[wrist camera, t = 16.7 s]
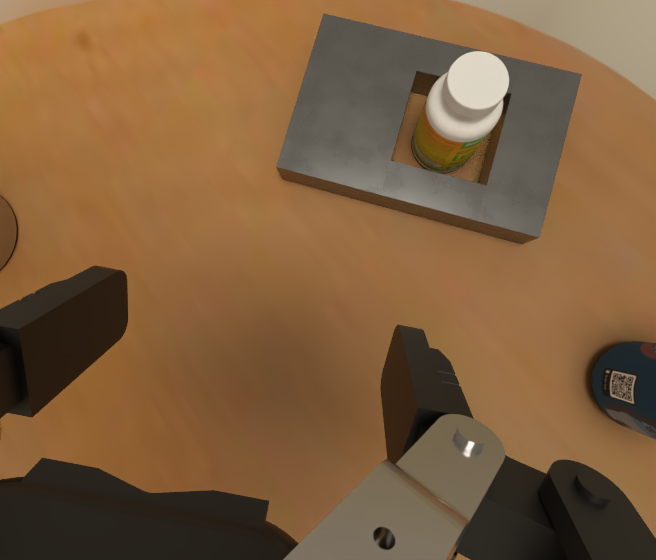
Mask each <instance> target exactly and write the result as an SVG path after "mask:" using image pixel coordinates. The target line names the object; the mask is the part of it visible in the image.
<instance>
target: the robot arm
mask: <svg viewBox="0 0 656 560" xmlns="http://www.w3.org/2000/svg"><path fill="white" fill-rule="evenodd" d="M16 233H17V226H16V221H15V217H14V214H13V212H12V209H11V208H10V206H9V205H8V203H7V202H6V201H5V200H4V199H3V198H2V197H1V196H0V269H1V268H2V267H3V266H4V264H5V263H6V262H7V260H8V259H9V257H10V255H11V253H12V251H13V249H14V245H15V241H16ZM127 323H128V294H127V276H126V274H125V272H123V271H121V270H116V269H111V268H106V267H101V266H92V267H90V268H88V269H87V270H85V271H83V272H81V273H79V274H77V275H75V276H73V277H71V278H69V279H67V280H63V281H59V282H55V283H51V284H49V285H47V286H45V287H43V288H41V289H39V290H37V291H36V292H35V294H33V293H32V294H30V295H28V296H26V297H24V298H22V300H21V301H20V300H18V301H16V302H14V303H12V304H10V305H8V306H6V307H4V308H2V309H0V418H1V417H3V416H4V415H5V414H6V413H12V414H17V415H22V416H27V417H33V416H34V415H35V414H36V413H38V412H39V411H40V410H41V409H42V408H43V407H44V406H45V405H47V404H48V403H49V402H50V401H51V400H52V399H53V398H54V397H56V396H57V395H58V394H59V393H60V392H61V391H62V390H63V389H65V388H66V387H67V386H68V385H69V384H70V383H71V382H72V381H74V380H75V379H76V378H77V377H78V376H79V375H80V374H81V373H83V372H84V371H85V370H86V369H87V368H88V367H89V366H90V365H92V364H93V363H94V362H95V361H96V360H97V359H98V358H99V357H101V356H102V355H103V354H104V353H105V352H106V351H107V350H108V349H110V348H111V347H112V346H113V345H114V344H115V343H116V342H117V341H119V340H120V339H121V337H122V336H123V334H124V332H125V330H126V327H127ZM381 398H382V408H383V418H384V428H385V438H386V448H387V458H388V459H386V460H384V461H382V462H381V463H380V464H379V465H378V466H377V467H376V468H375V469H374V470H373V471H372V472H371V473H370V474H369V475H368V476H367V477H366V478H365V479H364V480H363V481H362V482H361V483H360V484H359V485H358V486H357V487H356V488H355V489H354V490H353V491H352V492H351V493H350V494H349V495H348V496H347V497H346V498H345V499H344V500H343V501H342V502H341V503H340V504H339V505H338V506H337V507H335V508H334V509H333V510H332V511H331V512H330V513H329V514H328V515H327V516H326V517H325V518H324V519H323V520H322V521H321V522H320V523H319V524H318V525H317V526H316V527H315V528H314V529H313V530H312V531H311V532H310V533H309V534H308V535H307V536H306V537H305V538H304V539H303V540H302V541H301V542H300V543H297V542H296V541H295V540H294V539H293V538H292V537H291V536H289V535H288V534H287V533H286V532H284V531H283V530H281V529H280V528H278V527H277V526H275V525H273V524H272V523H270V522H268V521H266V516H267V511H268V505H269V501H267V500H261V499H256V498H251V497H246V496H240V495H235V494H230V493H225V492H219V491H214V490H211V491H190V492H169V493H148V492H145V491H142V490H140V489H138V488H136V487H134V486H132V485H130V484H128V483H126V482H124V481H122V480H120V479H118V478H116V477H114V476H112V475H110V474H108V473H106V472H104V471H102V470H100V469H99V468H94V467H88V466H83V465H78V464H73V463H67V462H62V461H57V460H52V459H46V458H42V459H41V460H40V461H39V462H38V463H37V464H36V465H35V466H34V467H33V468H32V469H31V470H30V471H29V472H28V473H27V474H26V475H25V477H16V478H9V479H1V480H0V560H455V559H456V557H457V555H458V554H459V553H460V554H461V555H463V556H465V557H467V558H469V559H471V560H656V538H655V537H654V536H653V534H652V533H651V531H650V530H649V528H648V527H647V525H646V524H645V522H644V521H643V519H642V518H641V517H640V515H639V514H638V512H637V511H636V509H635V508H634V506H633V505H632V503H631V502H630V501H629V499H628V498H627V497H626V495H625V494H624V493H623V492H622V491H621V490H620V489H619V488H618V487H617V486H616V485H615V484H614V483H613V482H612V481H610V480H609V479H608V478H607V477H605V476H604V475H602V474H601V473H599V472H598V471H596V470H594V469H592V468H590V467H588V466H586V465H584V464H581V463H579V462H575V461H571V460H557V461H555V462H554V463H553V464H552V465H551V467H550V468H549V470H548V472H547V474H546V473H543V472H541V471H539V470H536V469H534V468H532V467H529V466H527V465H525V464H522V463H520V462H518V461H516V460H514V459H511V458H509V457H508V456H506V455H505V450H504V447H503V444H502V443H501V441H500V439H499V438H498V437H497V436H496V435H495V434H494V433H493V432H492V431H491V430H490V429H489V428H488V427H486V426H485V425H483V424H482V423H480V422H479V421H477V420H475V419H474V418H473V416H472V414H471V411H470V409H469V406H468V404H467V401H466V399H465V397H464V394H463V392H462V389H461V387H460V386H459V382H458V380H457V377H456V376H455V372H454V370H453V367H452V365H451V363H450V361H449V360H448V359H447V358H446V357H445V356H444V355H443V354H442V353H441V352H440V351H439V350H438V349H433V348H429V345H428V342H427V339H426V336H425V333H424V331H423V330H422V329H417V328H412V327H407V326H402V325H397V326H396V328H395V330H394V333H393V337H392V340H391V344H390V347H389V351H388V354H387V358H386V361H385V365H384V368H383V372H382V378H381ZM1 431H2V428H1V422H0V438H1Z"/></svg>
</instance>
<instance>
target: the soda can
mask: <svg viewBox="0 0 656 560" xmlns="http://www.w3.org/2000/svg"><path fill="white" fill-rule="evenodd" d="M591 380H592V388H593V392H594V395H595V398H596V400H597V402H598V404H599V405H600V407H601V408H602V410H603V411H604V412H605V413H606V414H607V415H608V416H609V417H610V418H611V419H612V420H614V421H615V422H617V423H619V424H620V425H623V426H625V427H627V428H630V429H632V430H634V431H637V432H639V433H641V434H644V435H646V436H649V437H651V438H653V439H656V343H647V342H636V341H635V342H626V343H622V344H619V345H616V346H614V347H612V348H611V349H609V350H608V351H607V352H605V353H604V354H603V355H602V356H601V357H600V359H599V360H598V361H597V363H596V364H595V366H594V369H593V372H592V379H591Z"/></svg>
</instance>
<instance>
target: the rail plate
mask: <svg viewBox="0 0 656 560" xmlns="http://www.w3.org/2000/svg"><path fill="white" fill-rule="evenodd" d="M474 51H481V50H476V49H472V48H468V47H464V46H459V45H455V44H451V43H447V42H442V41H438V40H434V39H430V38H425V37H421V36H417V35H413V34H408V33H404V32H400V31H396V30H391V29H387V28H383V27H379V26H374V25H370V24H366V23H362V22H357V21H353V20H349V19H345V18H340V17H336V16H332V15H328V14H323V17H322V20H321V24H320V27H319V30H318V33H317V37H316V40H315V43H314V46H313V50H312V53H311V56H310V59H309V63H308V66H307V69H306V72H305V76H304V79H303V82H302V85H301V89H300V92H299V95H298V98H297V102H296V105H295V108H294V111H293V115H292V118H291V121H290V124H289V127H288V131H287V134H286V137H285V140H284V144H283V147H282V150H281V153H280V157H279V160H278V163H277V166H276V167H277V169H278V171H279V173H280V175H281V177H282V179H284V180H287V181H291V182H295V183H298V184H302V185H306V186H309V187H313V188H317V189H320V190H324V191H328V192H332V193H335V194H339V195H343V196H346V197H350V198H354V199H357V200H361V201H365V202H368V203H372V204H376V205H379V206H383V207H387V208H391V209H394V210H398V211H402V212H405V213H409V214H413V215H416V216H420V217H424V218H427V219H431V220H435V221H439V222H442V223H446V224H450V225H453V226H457V227H461V228H464V229H468V230H472V231H475V232H479V233H483V234H486V235H490V236H494V237H498V238H501V239H505V240H509V241H512V242H516V243H520V244H524V243H526V242H529V241H532V240H534V239H537V238H539V237H540V233H541V229H542V226H543V222H544V218H545V214H546V210H547V206H548V203H549V199H550V195H551V191H552V187H553V183H554V179H555V176H556V172H557V168H558V164H559V160H560V156H561V153H562V149H563V145H564V141H565V137H566V133H567V129H568V126H569V122H570V118H571V114H572V110H573V106H574V103H575V99H576V95H577V91H578V87H579V83H580V79H581V76H582V74H578V73H574V72H570V71H566V70H561V69H557V68H553V67H549V66H544V65H540V64H536V63H532V62H527V61H523V60H519V59H515V58H510V57H506V56H502V55H498V54H493V53H490V54H492V55H494V56H496V57H497V58H499V59H500V60H501V61H502V62H503V64H504V65H505V67H506V69H507V71H508V75H509V86H508V90H507V92H506V94H505V96H504V98H503V109H502V113H501V116H500V118H499V120H498V122H497V124H496V125H495V126H494V128H493V130H492V134H491V137H490V141H489V145H488V148H487V152H486V156H485V159H484V163H483V167H482V170H481V174H480V178H479V181H478V183H475V182H471V181H467V180H463V179H460V178H456V177H452V176H448V175H444V174H440V173H437V172H433V171H429V170H425V169H421V168H418V167H414V166H410V165H406V164H402V163H398V162H395V161H391V158H392V154H393V151H394V147H395V144H396V140H397V137H398V133H399V130H400V126H401V123H402V119H403V116H404V113H405V109H406V106H407V102H408V99H409V95H410V92H415V93H419V94H423V95H427V96H428V94H429V92H430V90H431V88H432V87H433V85H434V84H435V82H436V81H437V80H438V79H439V78H440V77H441V76H443V75H444V74H445V73H447V72H448V71H449V69H450V67H451V65H452V64H453V63H454V62H455V61H456V60H457V59H458V58H459V57H461V56H462V55H464V54H466V53H469V52H474ZM482 52H485V51H482ZM487 53H489V52H487Z"/></svg>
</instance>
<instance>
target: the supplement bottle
mask: <svg viewBox="0 0 656 560" xmlns="http://www.w3.org/2000/svg"><path fill="white" fill-rule="evenodd" d="M508 86H509V75H508V71H507V69H506V67H505V65H504V64H503V62H502V61H501V60H500V59H499V58H497V57H496V56H494V55H492V54H490V53H487V52H482V51H474V52H469V53H466V54H464V55H462V56H461V57H459V58H458V59H457V60H456V61H455V62H454V63H453V64H452V65H451V67H450V69H449V71H448V72H447V73H445V74H444V75H443V76H441V77H440V78H439V79H438V80H437V81H436V82H435V84H434V85H433V87H432V88H431V90H430V92H429V94H428V97H427V100H426V102H425V105H424V108H423V110H422V113H421V116H420V118H419V121H418V123H417V126H416V129H415V131H414V135H413V139H412V149H413V153H414V156H415V157H416V159H417V160H418V162H419V163H420V164H421V165H422V166H423V167H425V168H426V169H428V170H430V171H433V172H438V173H446V172H451V171H454V170H456V169H458V168H460V167H461V166H462V165H463V164H464V163H465V162H466V161H467V160H468V159H469V158H470V157H471V155H472V154H473V153H474V152H475V150H476V149H477V148H478V147H479V146H480V144H481V143H482V142H483V140H484V139H485V138H486V137H487V135H488V134H489V133H490V132H491V130H492V129H493V128H494V126H495V125H496V124H497V122H498V120H499V118H500V116H501V113H502V109H503V98H504V96H505V94H506V92H507V90H508Z"/></svg>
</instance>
